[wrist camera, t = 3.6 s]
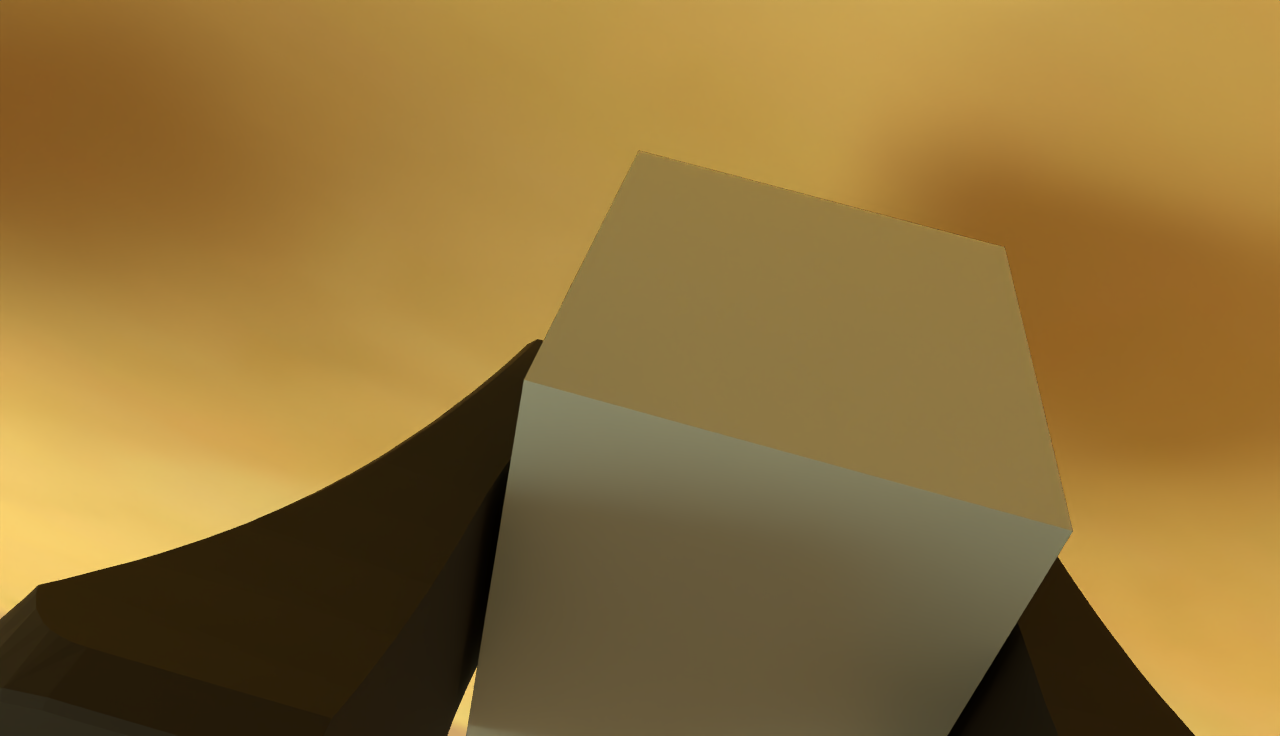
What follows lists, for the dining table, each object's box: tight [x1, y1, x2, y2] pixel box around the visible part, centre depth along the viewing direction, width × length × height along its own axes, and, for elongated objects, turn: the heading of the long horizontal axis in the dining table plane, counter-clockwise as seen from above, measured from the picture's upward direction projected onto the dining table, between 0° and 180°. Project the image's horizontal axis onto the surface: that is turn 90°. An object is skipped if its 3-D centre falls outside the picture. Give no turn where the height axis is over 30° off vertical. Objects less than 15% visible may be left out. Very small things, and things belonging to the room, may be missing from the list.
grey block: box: [466, 151, 1073, 736], centre depth 12 cm, size 4×8×5 cm, turn 169°
